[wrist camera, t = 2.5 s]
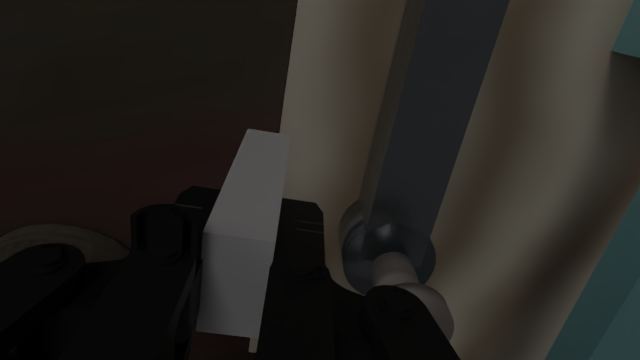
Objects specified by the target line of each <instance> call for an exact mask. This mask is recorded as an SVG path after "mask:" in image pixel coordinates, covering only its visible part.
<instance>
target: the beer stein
mask: <svg viewBox="0 0 640 360" xmlns="http://www.w3.org/2000/svg"><path fill="white" fill-rule="evenodd" d="M46 243H63V244H69V245H73V246H75V247H77V248H79V249H81V251H82V253H83V254H84V256H85V263H88V262H102V261H112V260H120V259H123V258H126V257H127V255H128V254H129V252H130V250H129V249H128V248H127V247H125V246H123V245H122V244H120V243H119V242H117V241H116V240H114V239H112V238H110V237H107V236H105V235H102V234H100V233H97V232H95V231H92V230H88V229H84V228H80V227H76V226H69V225H62V224H55V223H50V224H35V225H30V226H25V227H22V228H20V229H17V230H14V231H12V232H9V233H7V234H5V235H4V236H3V237H1V238H0V262H2V261H4V260H5V259H7V258H8V257H10V256H12V255H13V254H15V253H17V252H19V251H21V250H23V249H26V248H28V247H32V246H36V245H40V244H46ZM12 350H13V349H12ZM12 350H11V351H12Z"/></svg>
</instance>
